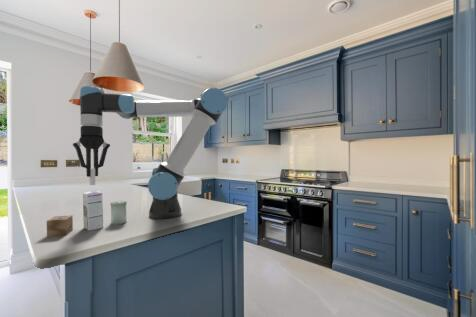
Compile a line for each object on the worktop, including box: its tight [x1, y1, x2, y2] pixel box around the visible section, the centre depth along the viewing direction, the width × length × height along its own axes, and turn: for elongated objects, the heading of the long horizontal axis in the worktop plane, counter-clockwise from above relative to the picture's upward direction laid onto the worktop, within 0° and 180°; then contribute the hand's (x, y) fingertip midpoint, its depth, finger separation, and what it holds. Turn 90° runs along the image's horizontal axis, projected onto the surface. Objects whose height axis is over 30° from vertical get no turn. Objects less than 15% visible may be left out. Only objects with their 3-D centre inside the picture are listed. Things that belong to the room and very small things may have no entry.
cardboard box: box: [46, 215, 74, 238], centre depth 87 cm, size 6×6×6 cm
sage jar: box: [109, 200, 128, 225], centre depth 101 cm, size 6×6×9 cm
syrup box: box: [82, 190, 104, 231], centre depth 94 cm, size 6×6×14 cm
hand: (92, 184), depth 94 cm, fingers closed
